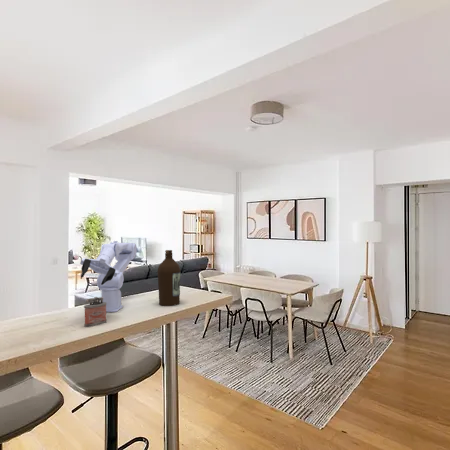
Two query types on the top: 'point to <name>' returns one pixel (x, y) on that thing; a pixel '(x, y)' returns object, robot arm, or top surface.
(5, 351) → the top surface
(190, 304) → the top surface
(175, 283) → the olive oil
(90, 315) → the lighter
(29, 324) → the top surface
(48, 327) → the top surface
